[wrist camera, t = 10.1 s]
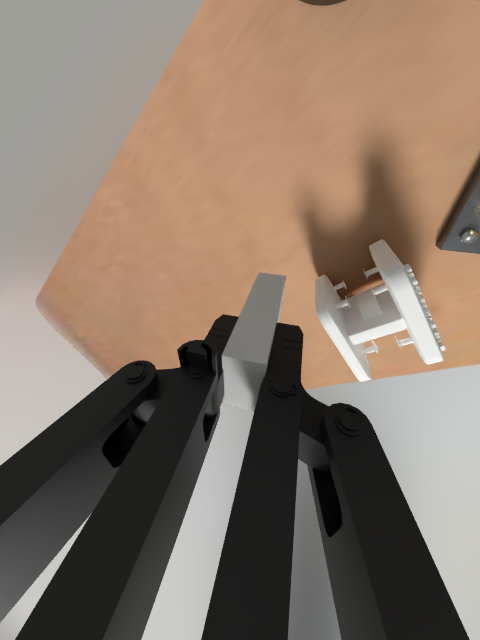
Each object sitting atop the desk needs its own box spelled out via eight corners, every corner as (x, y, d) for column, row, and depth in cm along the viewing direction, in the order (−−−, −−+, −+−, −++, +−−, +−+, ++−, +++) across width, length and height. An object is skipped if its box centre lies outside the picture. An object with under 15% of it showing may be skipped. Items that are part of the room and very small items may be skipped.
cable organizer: (311, 269, 37) (309, 309, 28) (384, 231, 31) (412, 265, 22) (351, 336, 42) (361, 388, 33) (420, 313, 37) (454, 368, 28)
